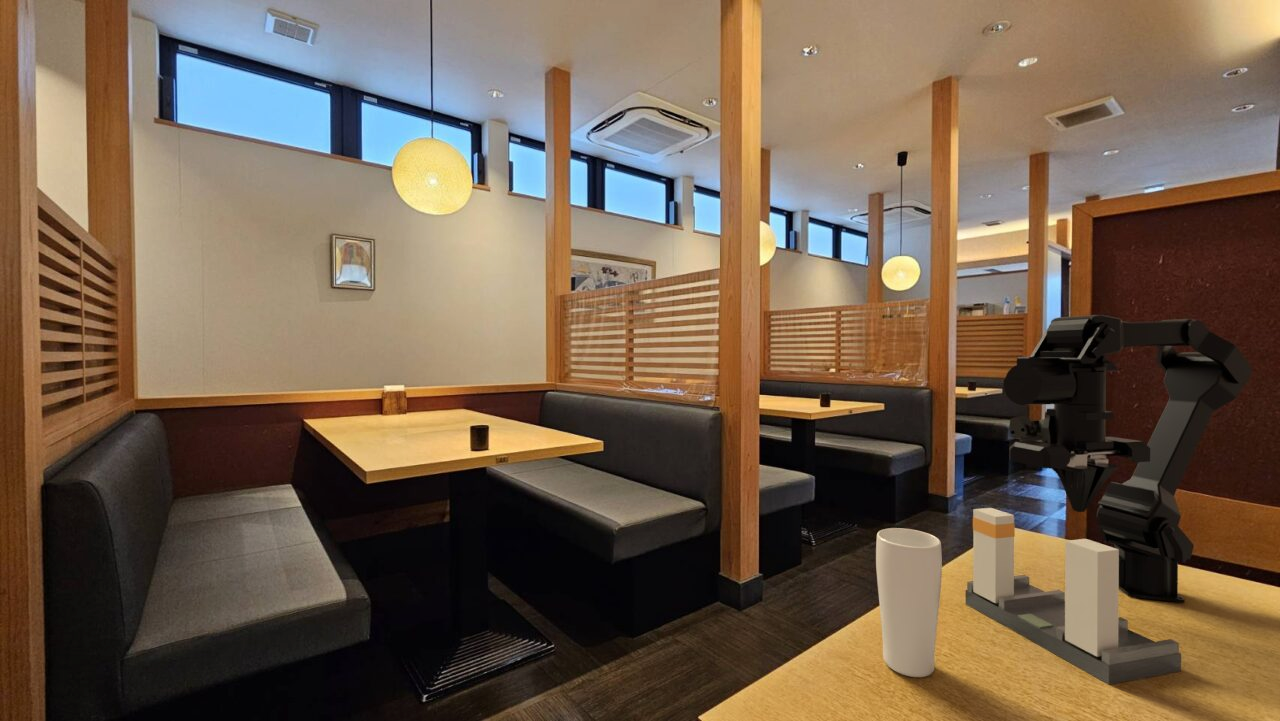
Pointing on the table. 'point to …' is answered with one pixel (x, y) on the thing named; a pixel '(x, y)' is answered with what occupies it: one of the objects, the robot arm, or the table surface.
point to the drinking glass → (909, 598)
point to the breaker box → (1045, 626)
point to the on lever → (1091, 595)
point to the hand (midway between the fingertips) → (1078, 511)
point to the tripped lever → (993, 553)
